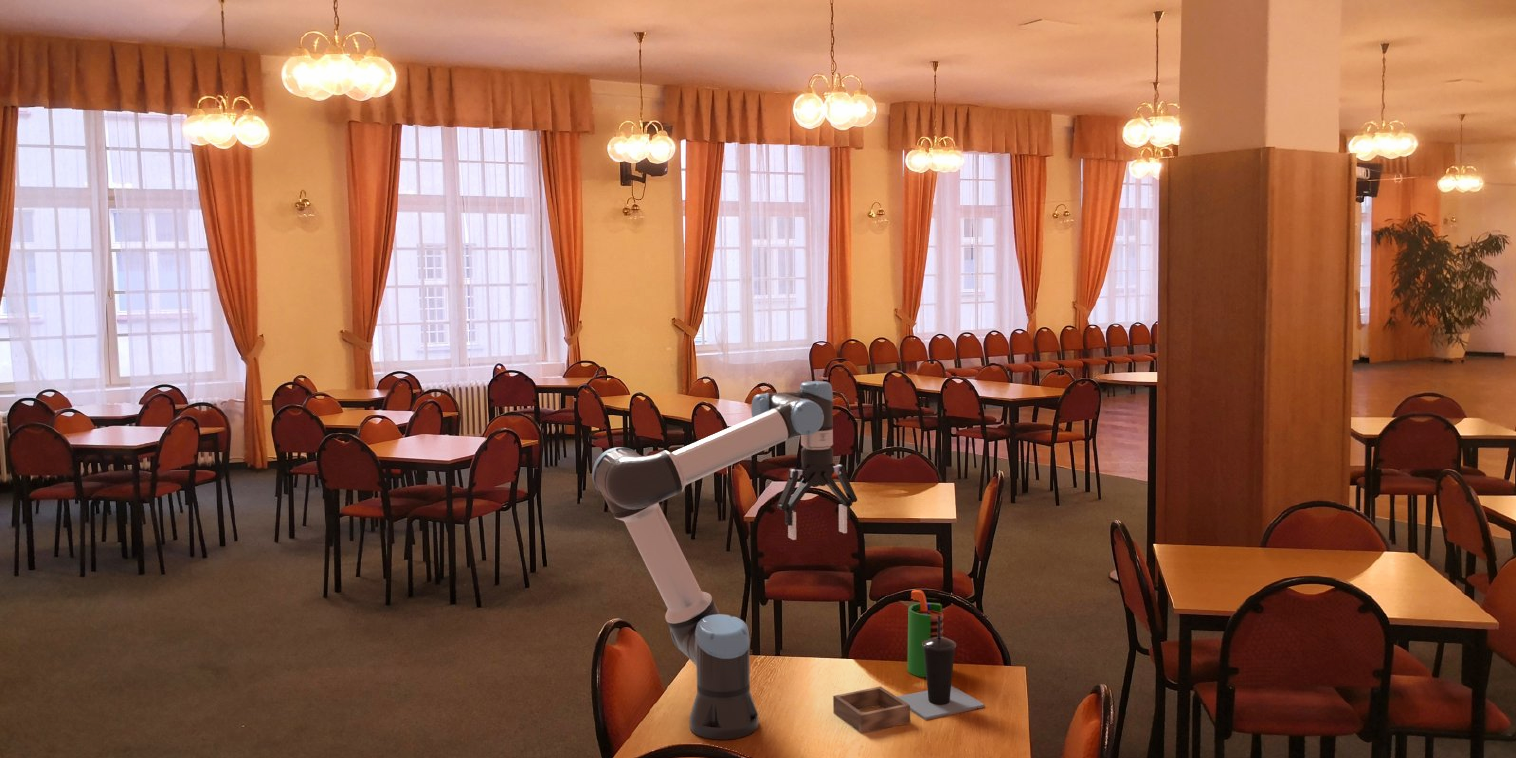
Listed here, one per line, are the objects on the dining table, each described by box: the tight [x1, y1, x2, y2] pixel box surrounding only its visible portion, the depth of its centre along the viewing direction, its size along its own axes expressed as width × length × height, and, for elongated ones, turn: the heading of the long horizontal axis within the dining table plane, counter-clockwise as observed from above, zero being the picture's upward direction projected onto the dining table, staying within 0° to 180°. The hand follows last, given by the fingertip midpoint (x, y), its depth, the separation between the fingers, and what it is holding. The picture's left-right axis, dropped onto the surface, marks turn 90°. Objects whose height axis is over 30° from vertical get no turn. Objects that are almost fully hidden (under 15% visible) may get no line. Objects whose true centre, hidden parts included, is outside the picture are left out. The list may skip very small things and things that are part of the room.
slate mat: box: [897, 684, 986, 721], centre depth 257 cm, size 16×13×1 cm
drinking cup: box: [922, 616, 957, 705], centre depth 255 cm, size 8×8×20 cm
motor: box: [907, 589, 944, 678], centre depth 277 cm, size 10×9×20 cm
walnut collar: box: [832, 686, 911, 734], centre depth 249 cm, size 12×12×4 cm
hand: (817, 535), depth 265 cm, fingers open, 13 cm apart
